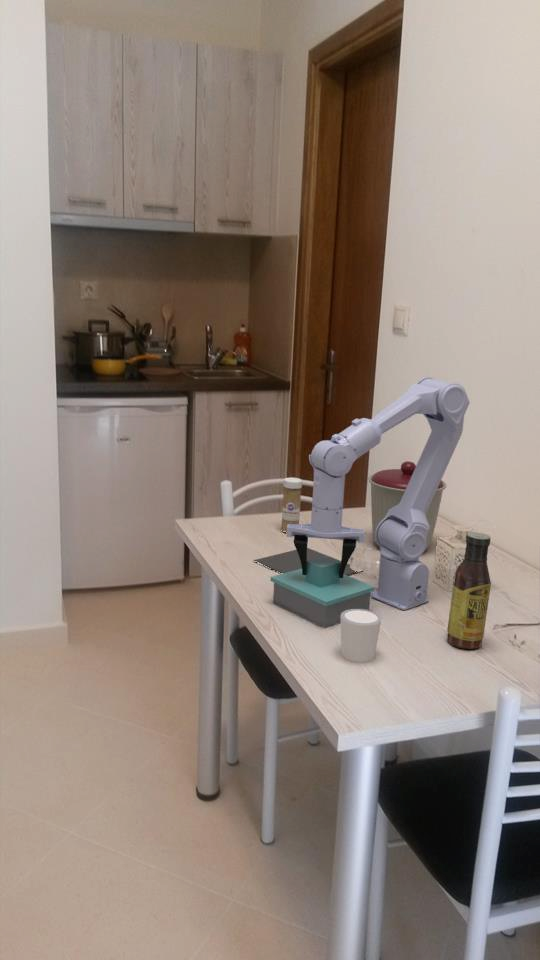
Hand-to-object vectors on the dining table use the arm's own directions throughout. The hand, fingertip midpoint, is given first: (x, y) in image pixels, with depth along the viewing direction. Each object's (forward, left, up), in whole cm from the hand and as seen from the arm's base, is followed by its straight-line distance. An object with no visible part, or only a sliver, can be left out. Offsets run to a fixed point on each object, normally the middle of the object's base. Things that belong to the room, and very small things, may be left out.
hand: (322, 574), depth 152 cm
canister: (+15, -42, -7) cm, 45 cm away
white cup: (-18, +9, -7) cm, 21 cm away
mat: (+18, -14, -7) cm, 24 cm away
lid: (0, 0, -3) cm, 3 cm away
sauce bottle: (-26, -10, -7) cm, 29 cm away
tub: (0, 0, -7) cm, 7 cm away
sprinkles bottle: (+39, -28, -7) cm, 48 cm away
